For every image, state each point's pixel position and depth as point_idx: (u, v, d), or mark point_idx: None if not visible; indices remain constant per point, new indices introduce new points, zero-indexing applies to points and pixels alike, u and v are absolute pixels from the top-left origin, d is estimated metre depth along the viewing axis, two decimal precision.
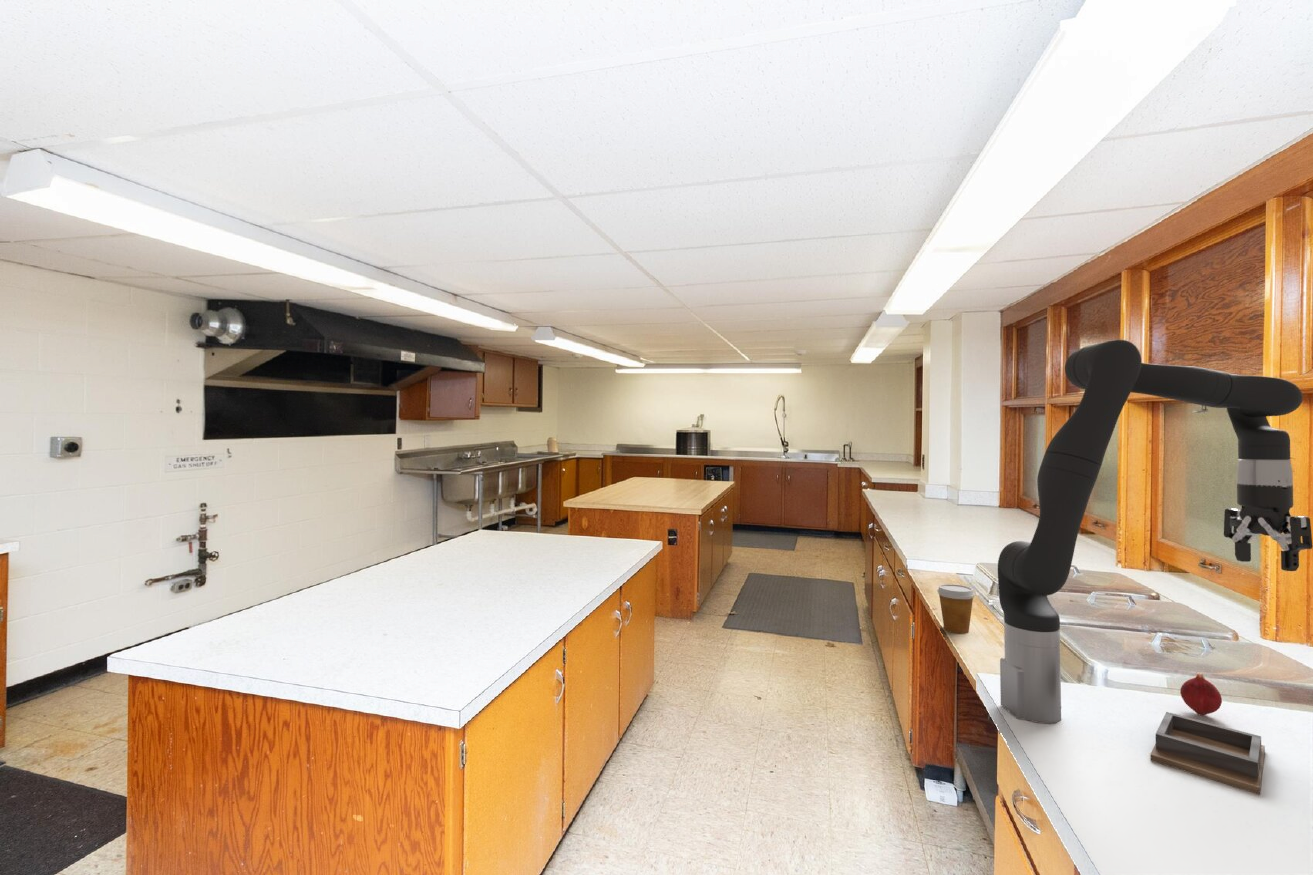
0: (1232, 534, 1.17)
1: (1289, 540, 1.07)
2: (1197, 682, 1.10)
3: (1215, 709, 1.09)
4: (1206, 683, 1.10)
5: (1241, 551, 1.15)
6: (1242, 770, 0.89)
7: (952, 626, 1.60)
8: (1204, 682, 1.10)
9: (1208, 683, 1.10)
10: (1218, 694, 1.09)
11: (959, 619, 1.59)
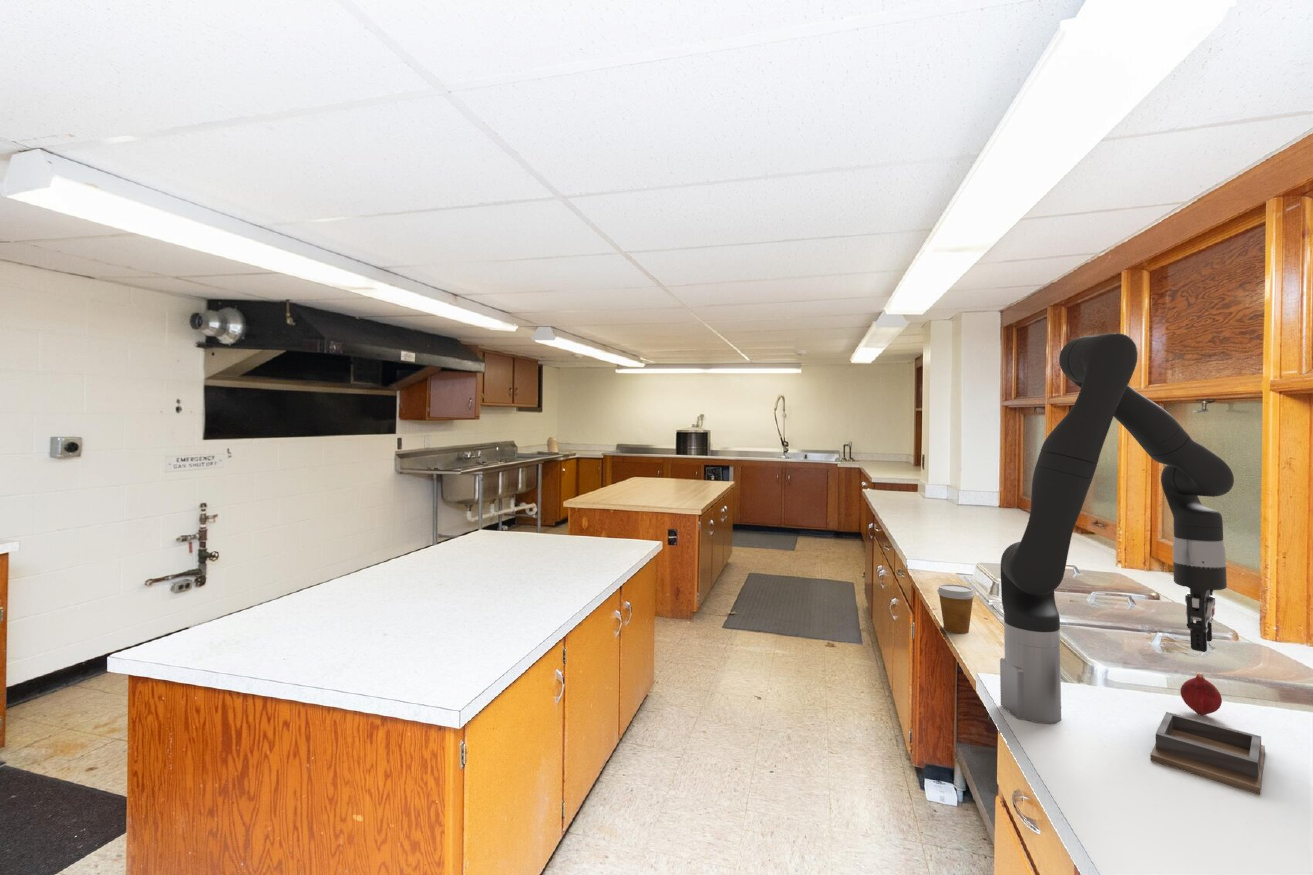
0: None
1: None
2: (1197, 682, 1.10)
3: (1215, 709, 1.09)
4: (1206, 683, 1.10)
5: None
6: (1242, 770, 0.89)
7: (952, 626, 1.60)
8: (1204, 682, 1.10)
9: (1208, 683, 1.10)
10: (1218, 694, 1.09)
11: (959, 619, 1.59)
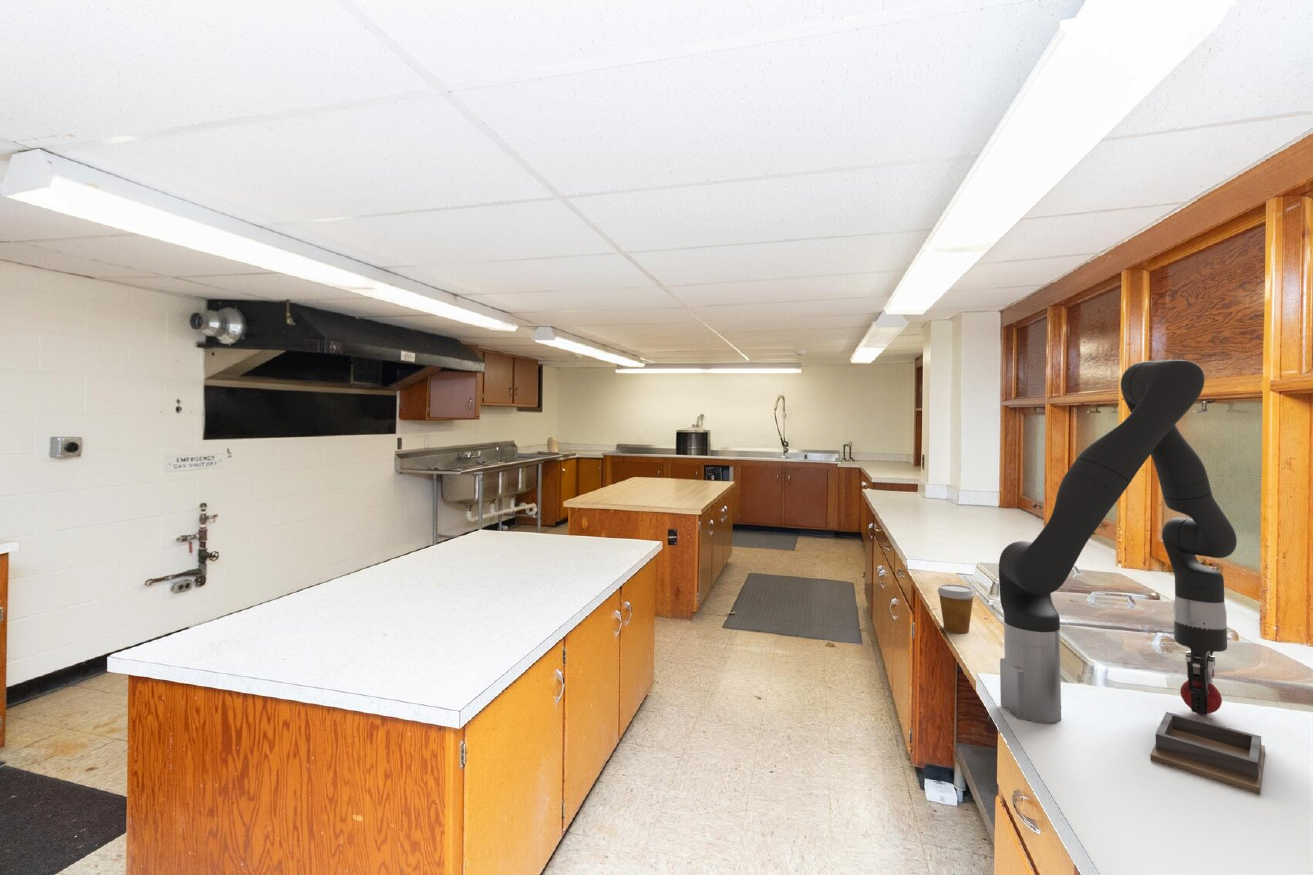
0: None
1: None
2: (1197, 682, 1.10)
3: (1215, 709, 1.09)
4: None
5: None
6: (1242, 770, 0.89)
7: (952, 626, 1.60)
8: None
9: None
10: (1218, 694, 1.09)
11: (959, 619, 1.59)
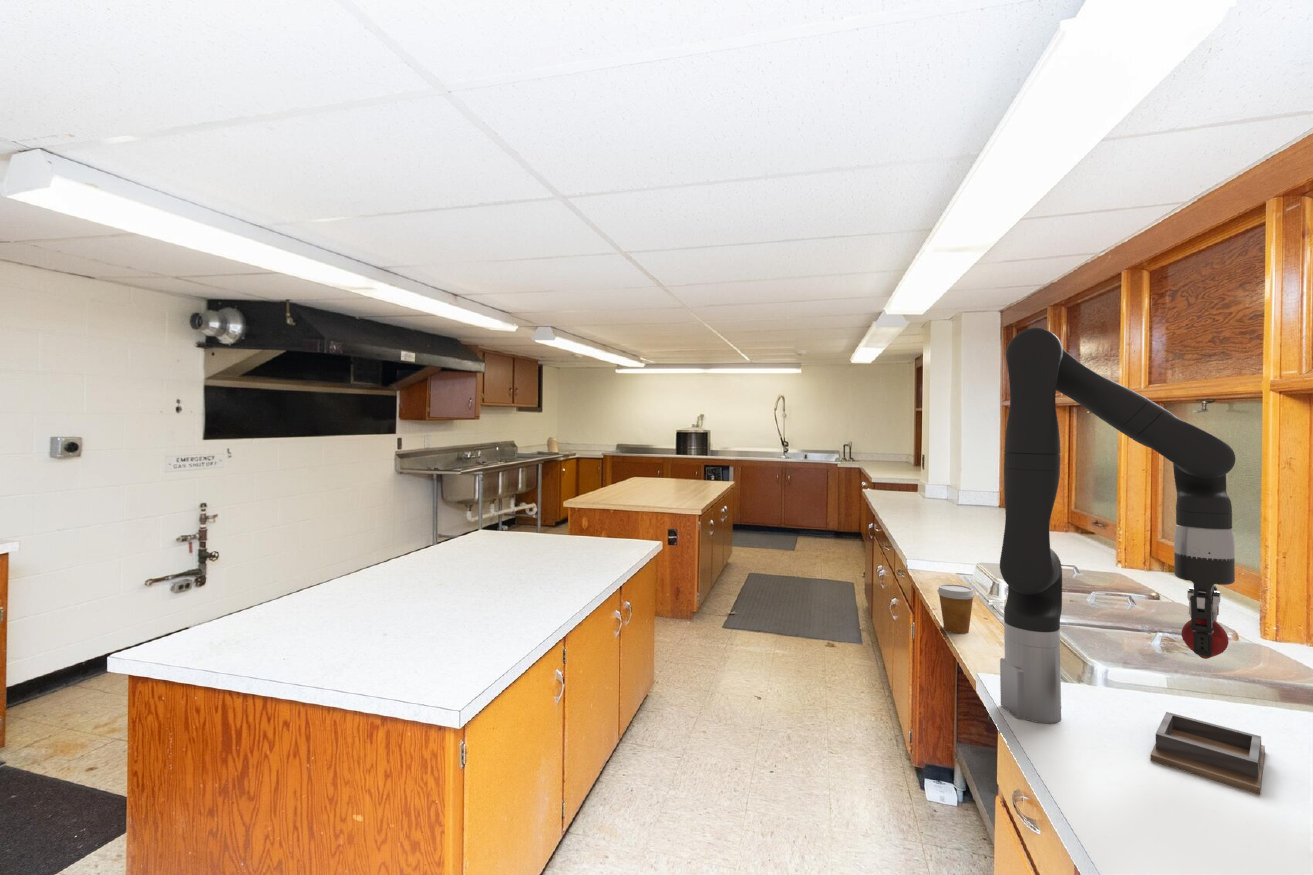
0: None
1: None
2: (1200, 621, 0.97)
3: (1221, 651, 0.96)
4: None
5: None
6: (1242, 770, 0.89)
7: (952, 626, 1.60)
8: None
9: (1213, 622, 0.97)
10: (1225, 633, 0.96)
11: (959, 619, 1.59)
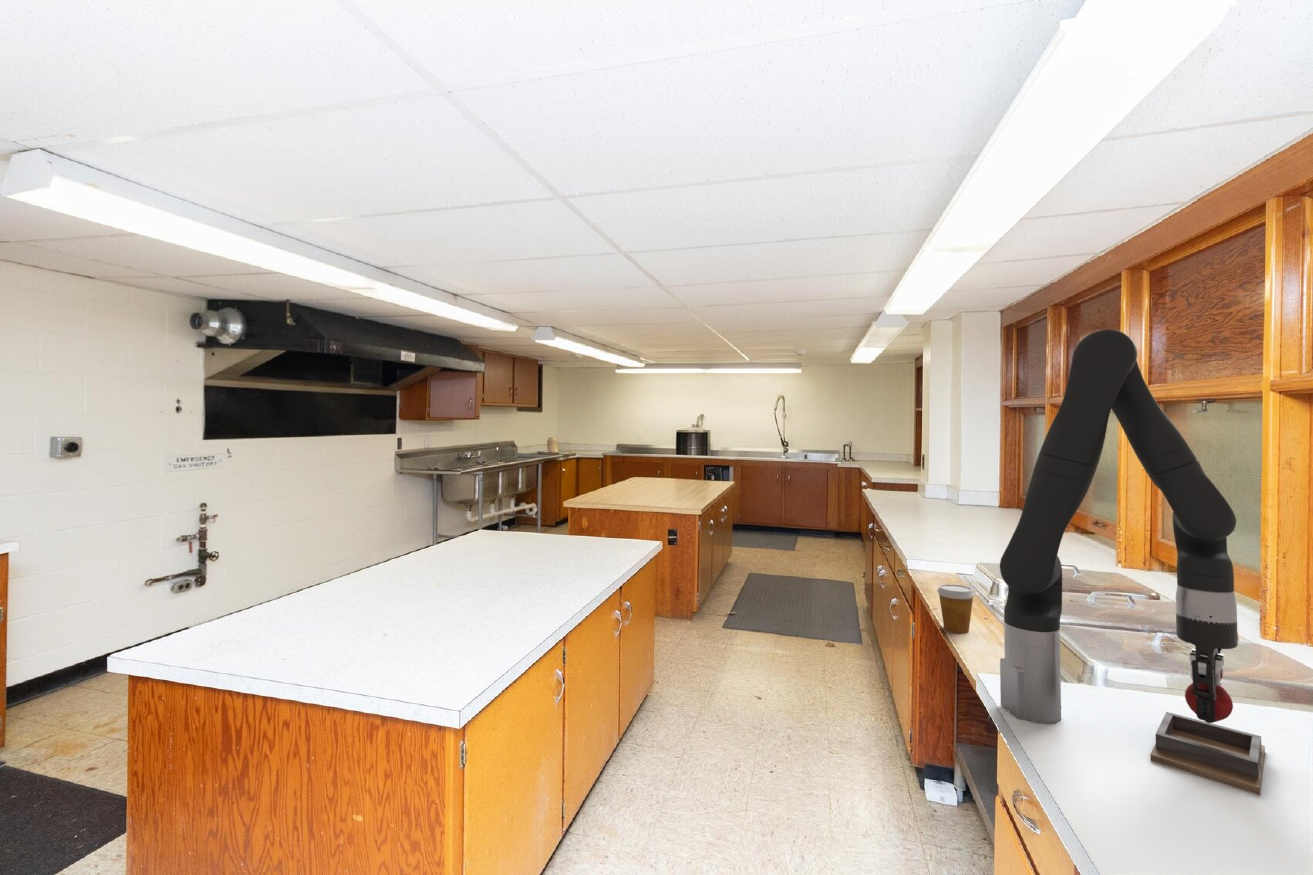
0: None
1: None
2: (1204, 685, 0.96)
3: (1225, 716, 0.94)
4: None
5: None
6: (1242, 770, 0.89)
7: (952, 626, 1.60)
8: None
9: None
10: (1229, 698, 0.94)
11: (959, 619, 1.59)
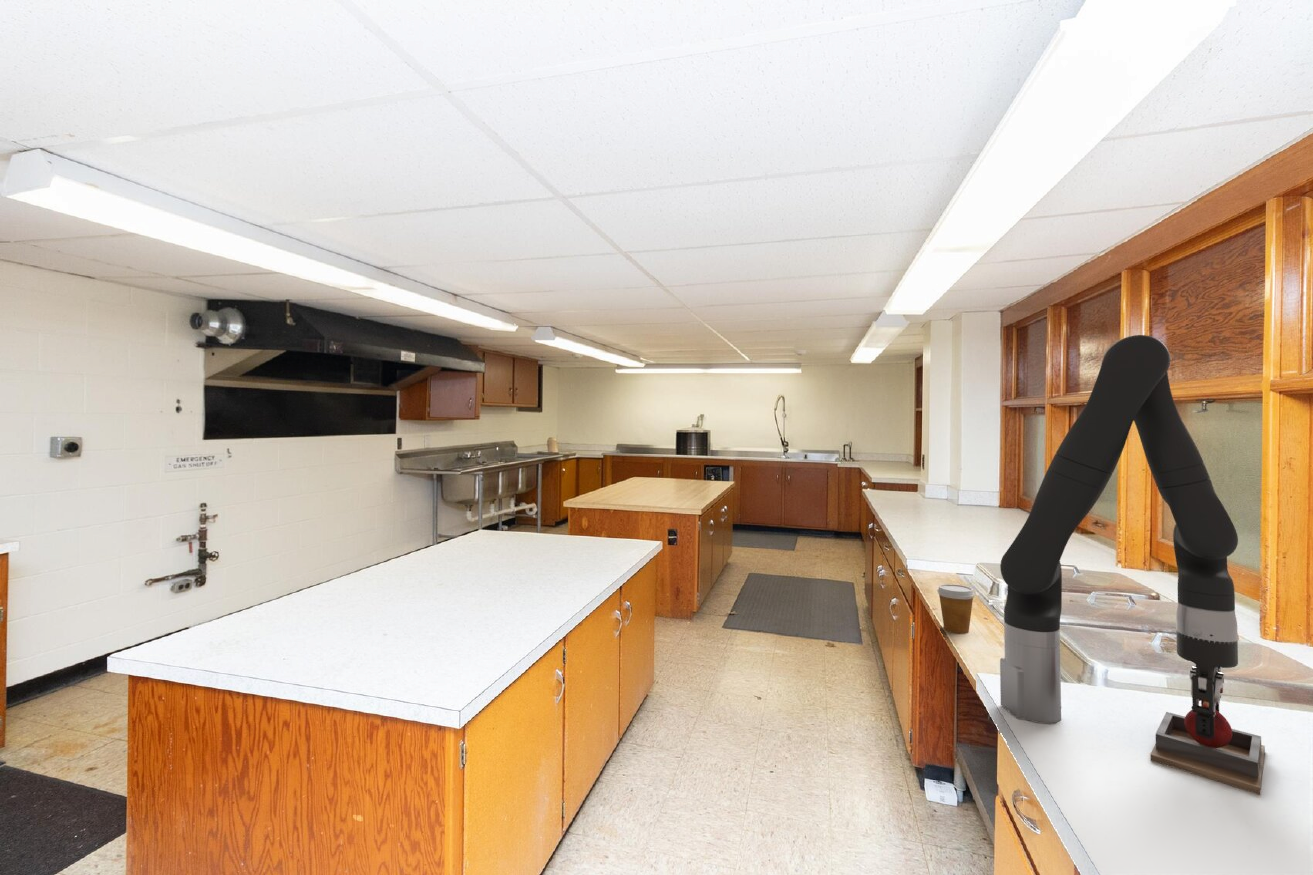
0: None
1: None
2: None
3: (1224, 744, 0.94)
4: None
5: None
6: (1242, 770, 0.89)
7: (952, 626, 1.60)
8: None
9: (1216, 713, 0.95)
10: (1228, 726, 0.95)
11: (959, 619, 1.59)
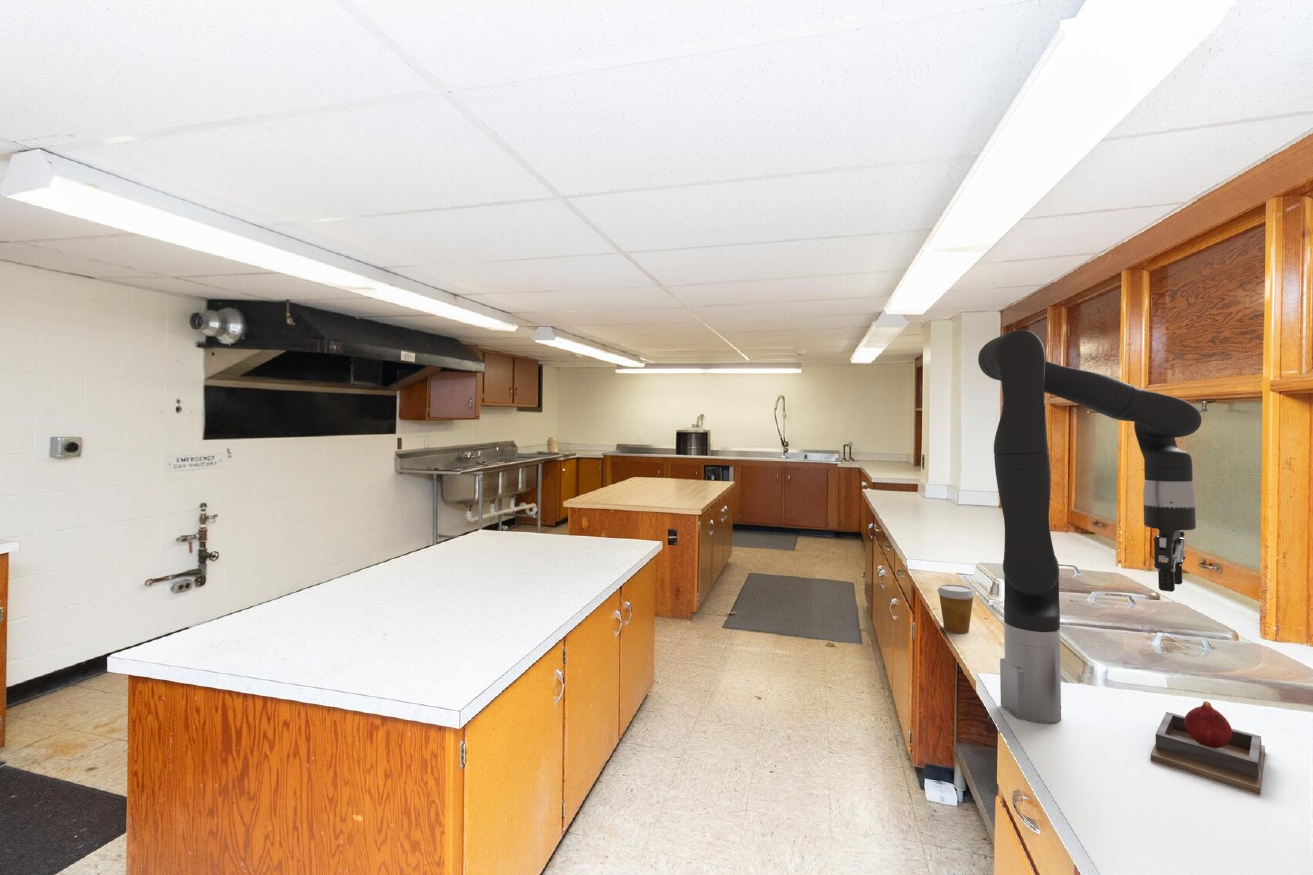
0: None
1: None
2: (1203, 712, 0.96)
3: (1224, 744, 0.94)
4: (1214, 713, 0.95)
5: None
6: (1242, 770, 0.89)
7: (952, 626, 1.60)
8: (1211, 712, 0.96)
9: (1216, 713, 0.96)
10: (1228, 725, 0.95)
11: (959, 619, 1.59)
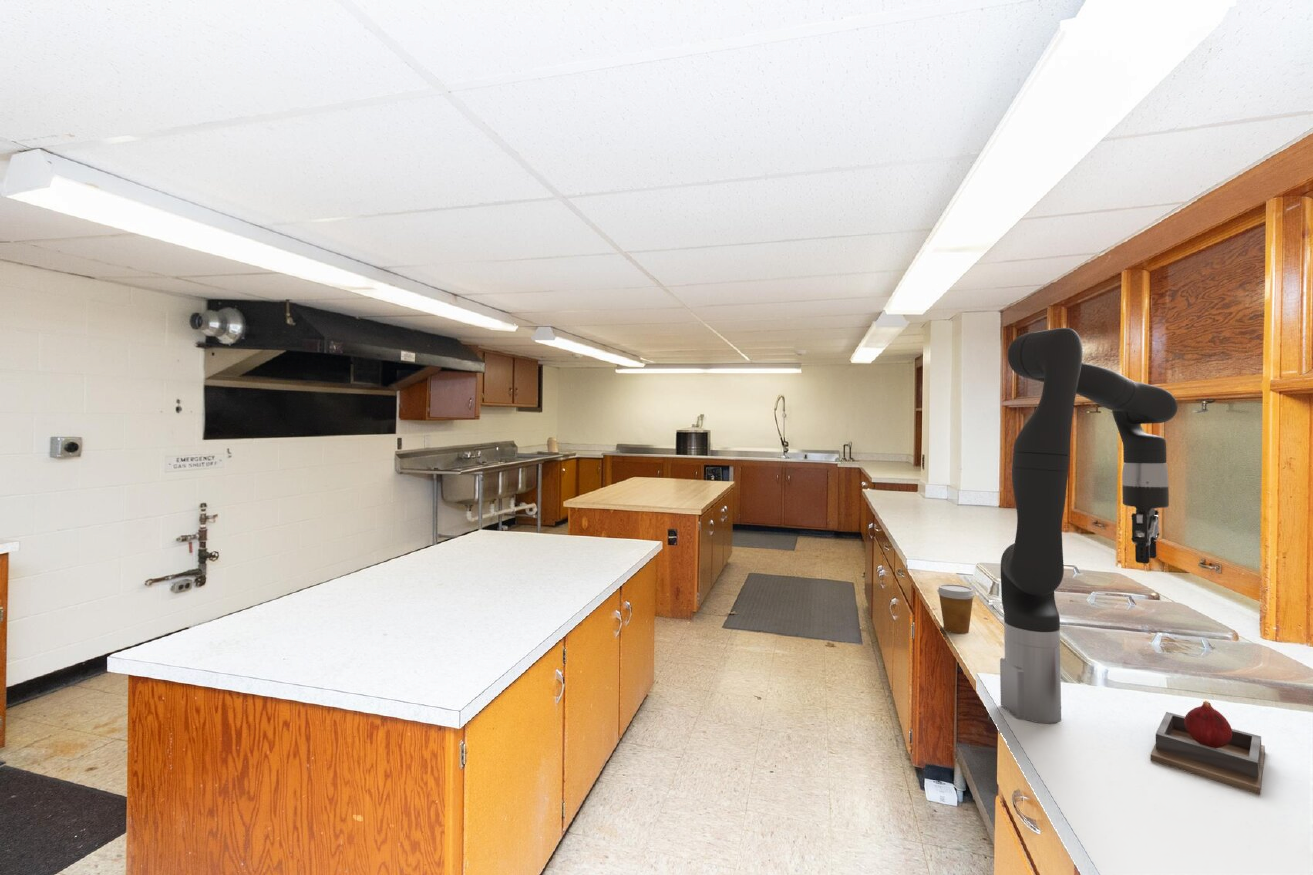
0: None
1: None
2: (1203, 712, 0.96)
3: (1224, 744, 0.94)
4: (1214, 713, 0.95)
5: None
6: (1242, 770, 0.89)
7: (952, 626, 1.60)
8: (1211, 712, 0.96)
9: (1216, 713, 0.96)
10: (1228, 725, 0.95)
11: (959, 619, 1.59)
